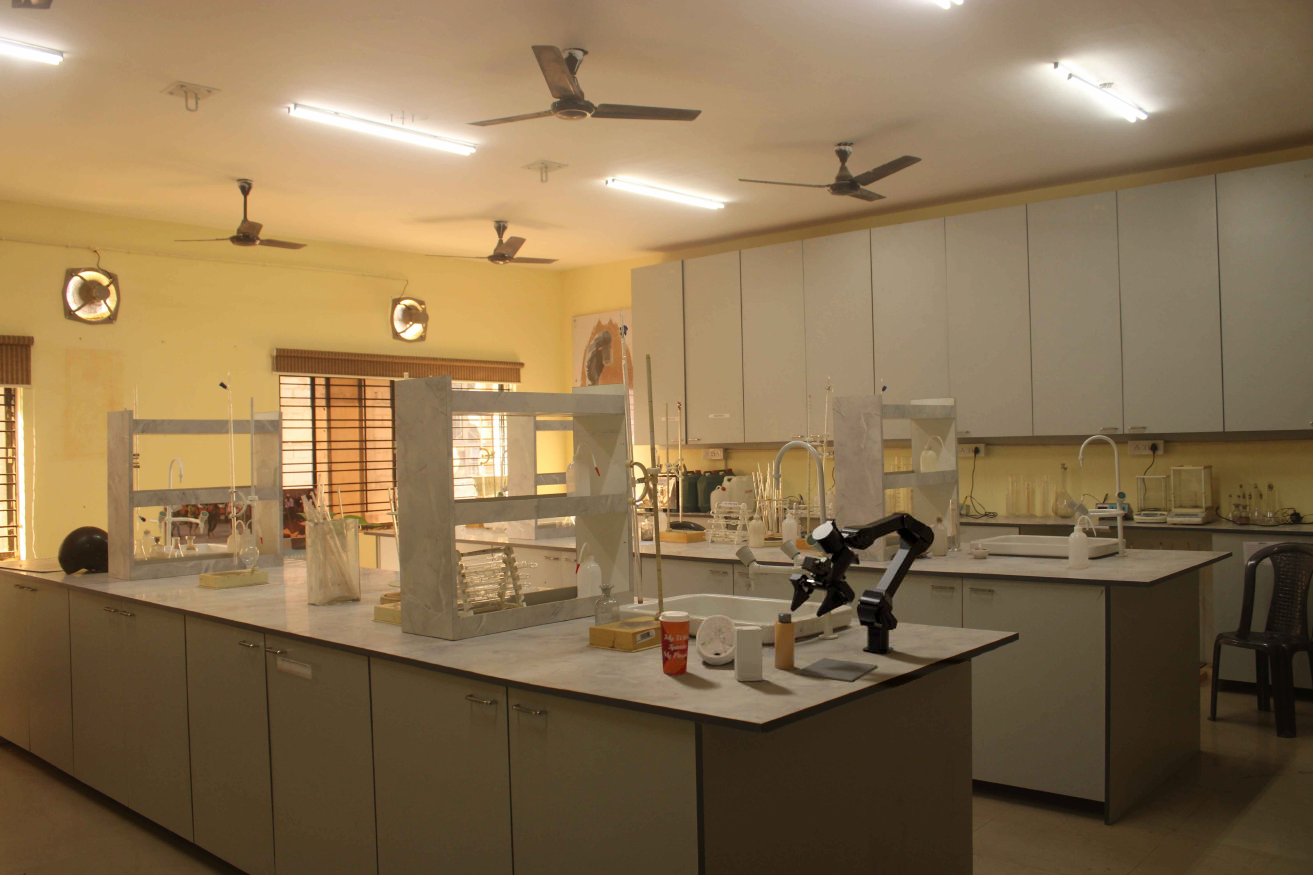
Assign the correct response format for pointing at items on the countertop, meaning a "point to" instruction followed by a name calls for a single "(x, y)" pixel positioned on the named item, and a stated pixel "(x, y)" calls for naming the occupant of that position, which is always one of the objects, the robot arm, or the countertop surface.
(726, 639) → the skull bowl
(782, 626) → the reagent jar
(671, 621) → the paper cup
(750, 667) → the skincare box
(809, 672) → the rubber mat
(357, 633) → the countertop surface
